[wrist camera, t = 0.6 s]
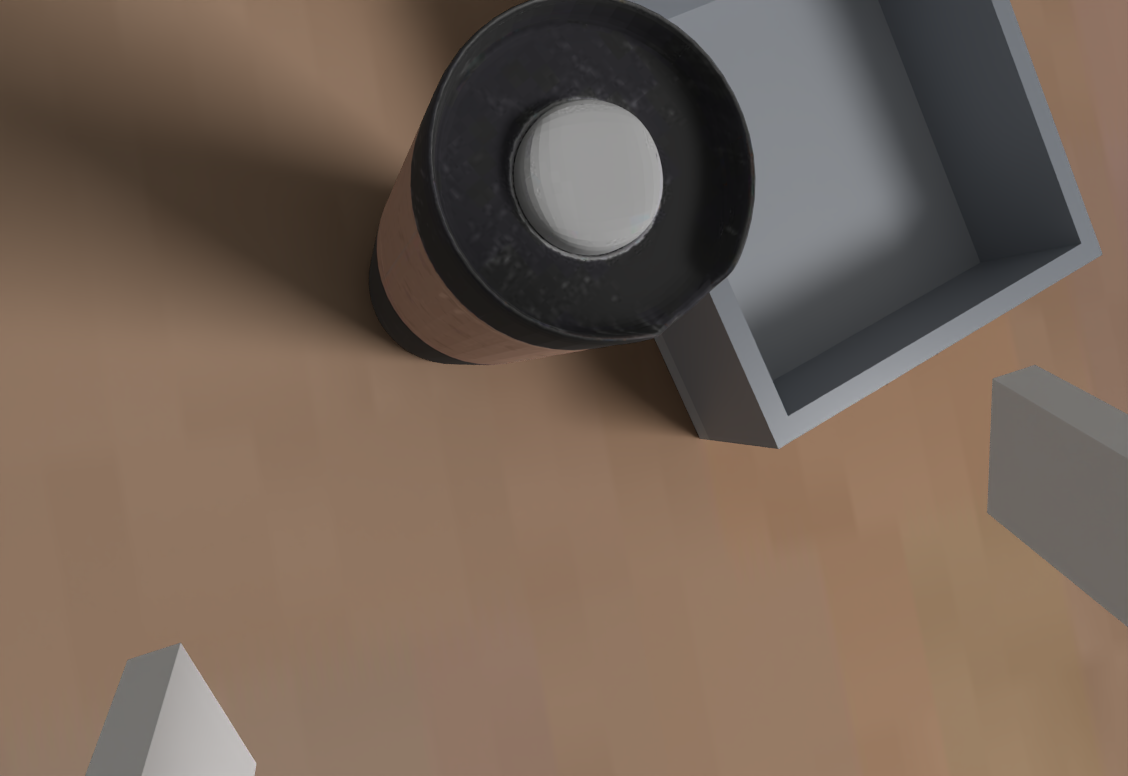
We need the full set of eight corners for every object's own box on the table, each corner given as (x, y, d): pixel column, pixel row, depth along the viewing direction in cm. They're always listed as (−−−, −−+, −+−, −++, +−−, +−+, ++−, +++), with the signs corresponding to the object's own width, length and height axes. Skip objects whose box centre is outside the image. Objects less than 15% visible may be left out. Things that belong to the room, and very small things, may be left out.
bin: (525, 57, 37) (572, -17, 30) (851, -69, 42) (952, -156, 35) (700, 438, 39) (778, 448, 33) (985, 274, 45) (1102, 254, 38)
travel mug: (371, 186, 35) (441, -61, 16) (538, 215, 37) (778, 31, 18) (352, 359, 34) (399, 324, 15) (522, 378, 37) (746, 368, 18)
